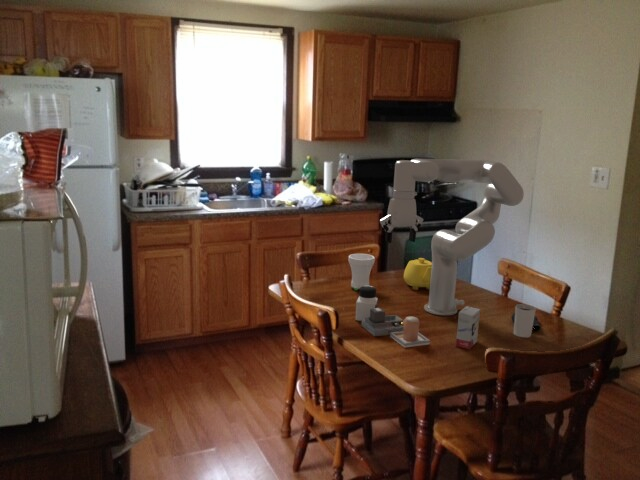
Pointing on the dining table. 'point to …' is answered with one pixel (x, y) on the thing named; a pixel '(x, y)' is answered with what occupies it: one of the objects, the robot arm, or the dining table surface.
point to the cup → (360, 269)
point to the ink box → (467, 327)
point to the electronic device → (535, 323)
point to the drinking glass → (524, 320)
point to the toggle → (377, 315)
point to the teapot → (418, 273)
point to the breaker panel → (384, 325)
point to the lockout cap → (411, 329)
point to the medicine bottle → (366, 302)
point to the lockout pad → (399, 338)
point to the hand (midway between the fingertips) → (400, 241)
